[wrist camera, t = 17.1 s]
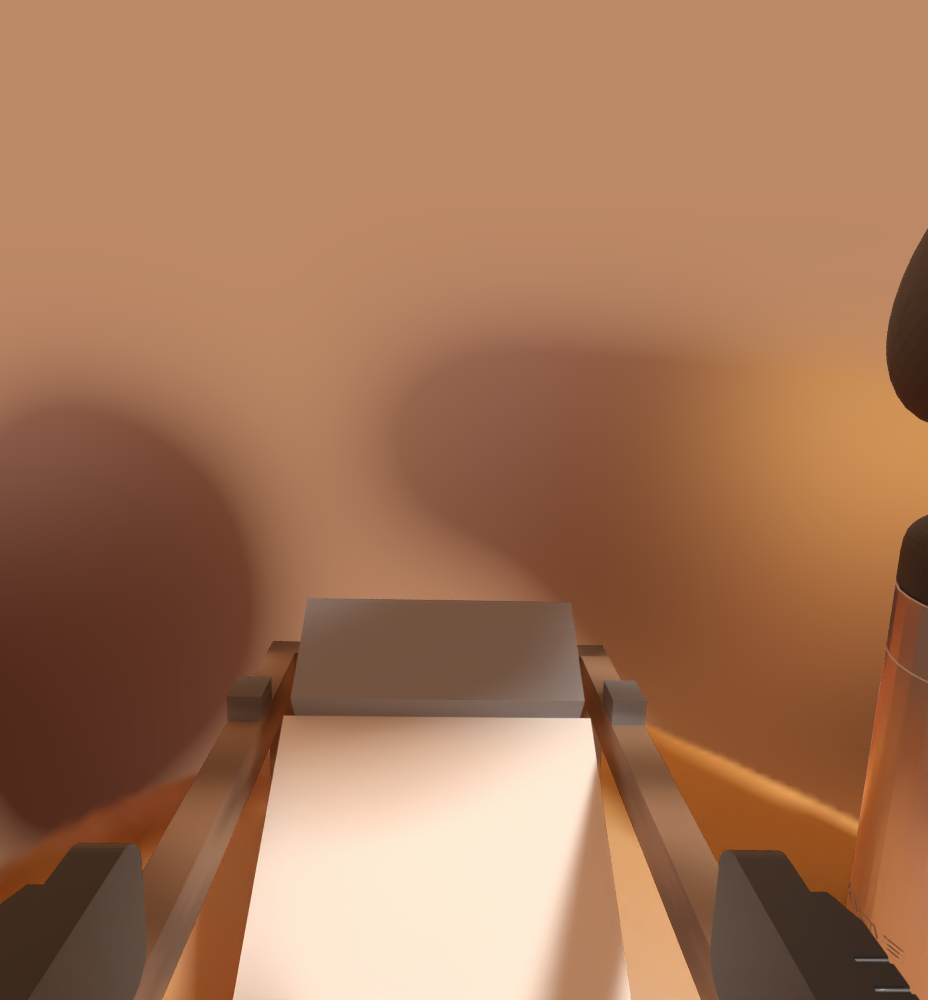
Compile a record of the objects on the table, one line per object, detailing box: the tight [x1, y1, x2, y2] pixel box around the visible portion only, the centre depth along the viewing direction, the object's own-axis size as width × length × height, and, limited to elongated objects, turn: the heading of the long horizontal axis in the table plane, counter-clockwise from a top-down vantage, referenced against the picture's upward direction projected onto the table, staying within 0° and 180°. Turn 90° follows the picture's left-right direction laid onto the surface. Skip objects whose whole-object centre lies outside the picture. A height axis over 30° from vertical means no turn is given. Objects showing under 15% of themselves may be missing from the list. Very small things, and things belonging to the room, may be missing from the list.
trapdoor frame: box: [133, 641, 719, 1000], centre depth 31 cm, size 24×19×12 cm
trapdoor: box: [233, 598, 631, 1000], centre depth 31 cm, size 20×14×4 cm
